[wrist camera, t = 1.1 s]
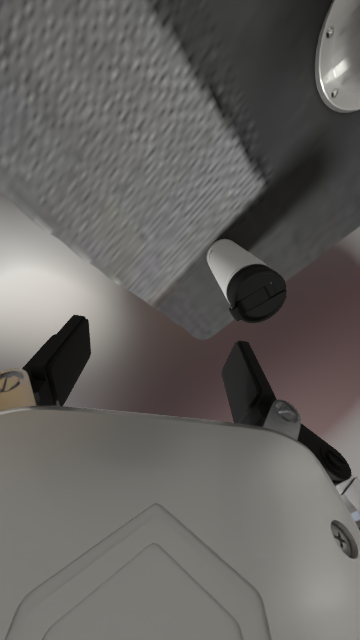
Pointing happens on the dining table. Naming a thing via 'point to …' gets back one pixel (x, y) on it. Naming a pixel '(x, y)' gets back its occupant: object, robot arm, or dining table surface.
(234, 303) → the travel mug
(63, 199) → the dining table surface
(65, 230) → the dining table surface
